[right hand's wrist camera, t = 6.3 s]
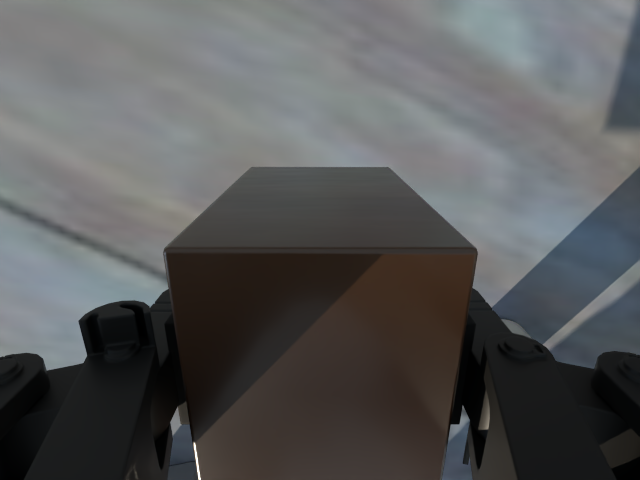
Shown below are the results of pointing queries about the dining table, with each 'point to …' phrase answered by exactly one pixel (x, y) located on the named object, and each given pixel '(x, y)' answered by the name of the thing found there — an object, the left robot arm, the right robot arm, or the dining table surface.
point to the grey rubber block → (183, 471)
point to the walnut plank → (320, 327)
